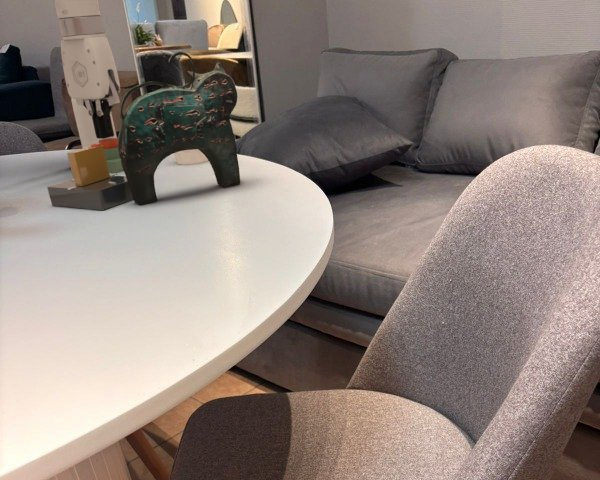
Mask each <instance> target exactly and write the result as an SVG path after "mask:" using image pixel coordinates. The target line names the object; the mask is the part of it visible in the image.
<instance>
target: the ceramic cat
mask: <svg viewBox="0 0 600 480" xmlns="http://www.w3.org/2000/svg"><path fill="white" fill-rule="evenodd" d="M178 56H186V57H187V58H188V59H189V60H190V62H191V65H192V71H189V70H188V71H187V75H188V76H189V77H190V80H189V81H188V82H186V83H185V84H183V85H174V84H169V83H164V82H160V81H147V82H143V83H140V84H137V85H135V86H132V88H130V89H128V90H127V91H126V92H125V94H124V95H123V98H122V100H121V102H120V103H121V104H120V111H119V119H121V122H120V126H119V127H120V128H119V132H118V136H117V140H118V151H119V155H120V159H121V164H122V167H123V173H124V176H126V179H127V181H128V184H129V187H130V190H131V193H132V196H133V201H134V203H136V204H137V205H139V206H141V205H146V204H152V203H156V202H157V201H158V196H157V193H156V191H157V190H156V187H155V173H156V171H157V169H158V167H159V166H160V164H161V163H162V162H163V161H164V160H165V159H166V158H168V157H169V156H171V155H174V153H176V152H179V151H184V150H192V149H198V150H200V151H201V152H202V153H203V154H204V155H205V156H206V158H207V159H208V162H209V164H210V166H211V168H212V171H213V174H214V176H215V180H216V185H218V186H219V187H221V188H228V187H230V186H238V185H241V175H240V173H241V172H240V164H239V157H238V151H237V150H238V149H237V143H236V139H235V135H234V134H235V133H234V130H233V129H234V128H233V126H232V123H231V119H230V117H231V114H232V112H234V109H235V108H236V106H237V103H238V92H237V91H238V90H237V86H236V82H235V81H234V79H233V78H232V77H231V76H230V75H229V74H227V73H226V71H225V68H224V66H223V64H222V63H221V62H219V61H217V62H216V63H215V66H214V68H213V70H211V71H209V72H205V73H197V72H196V69H195V64H194V60H193V58H192V56H190V54H188V53H186V52H183V51H177V52H174V53H173V54H171V56H170V58H169V59H168V64H169V65H171V64H172V61H173V60H174V59H175V58H176V57H178ZM151 85H157V86H161V88H159V89H157V90H154V91H151V92H147V93H145V94H142V95H140V96H138V97H136V98H135V99H134V100H133V101H132V102H130V104H128V106H127V107H126V108H125V111H124V105H125V102H126V101H127V100H128V98H129V96H130V95H131V94H132V93H133V92H135V91H137V90H139V89H141V88H144V87H146V86H151ZM188 86H189V87H188Z"/></svg>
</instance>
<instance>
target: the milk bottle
mask: <svg viewBox="0 0 600 480" xmlns="http://www.w3.org/2000/svg"><path fill="white" fill-rule="evenodd" d="M70 100H71V105H72V106H71V107H72V111H73V114H74V115H73V116H74V119H75V123H76V127H77V132H78V136H79V140H80V144H81V147H82V148H81V149H83V148H87V147H91V145H93V144H99V140H102V139H101V138H100V139H98V138H97V137H96V133H95V129H94V124H93V120H92V116H90V115H89V113H88V110H87V109H86V108H85V106H82V105H79V104H77V102H76V99H73V98H71V97H70ZM110 117H111V122H112V127H113V132H114V136H113V137H109V138H117V139H118V136H117V132H116V131H117V130H116V128H115V121H114V119H113V113H112V114H110ZM104 139H107V138H104Z"/></svg>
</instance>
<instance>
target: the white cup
mask: <svg viewBox="0 0 600 480" xmlns="http://www.w3.org/2000/svg"><path fill="white" fill-rule="evenodd" d="M173 155H174V160H175V163H176V164H177V165H180V166H187V165H197V164H202V163H206V162H209V160H208V159H207V158H206V156H205V155H204V154H203V153H202V152H201V151H200V150H198V149H192V150H184V151H179V152H176V153H173Z"/></svg>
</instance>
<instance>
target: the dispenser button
mask: <svg viewBox="0 0 600 480" xmlns="http://www.w3.org/2000/svg"><path fill="white" fill-rule="evenodd" d="M99 144H101V145H103V148H104V149H111V148H116V147H118V137H117V138H107V139H102V140H99Z"/></svg>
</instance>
